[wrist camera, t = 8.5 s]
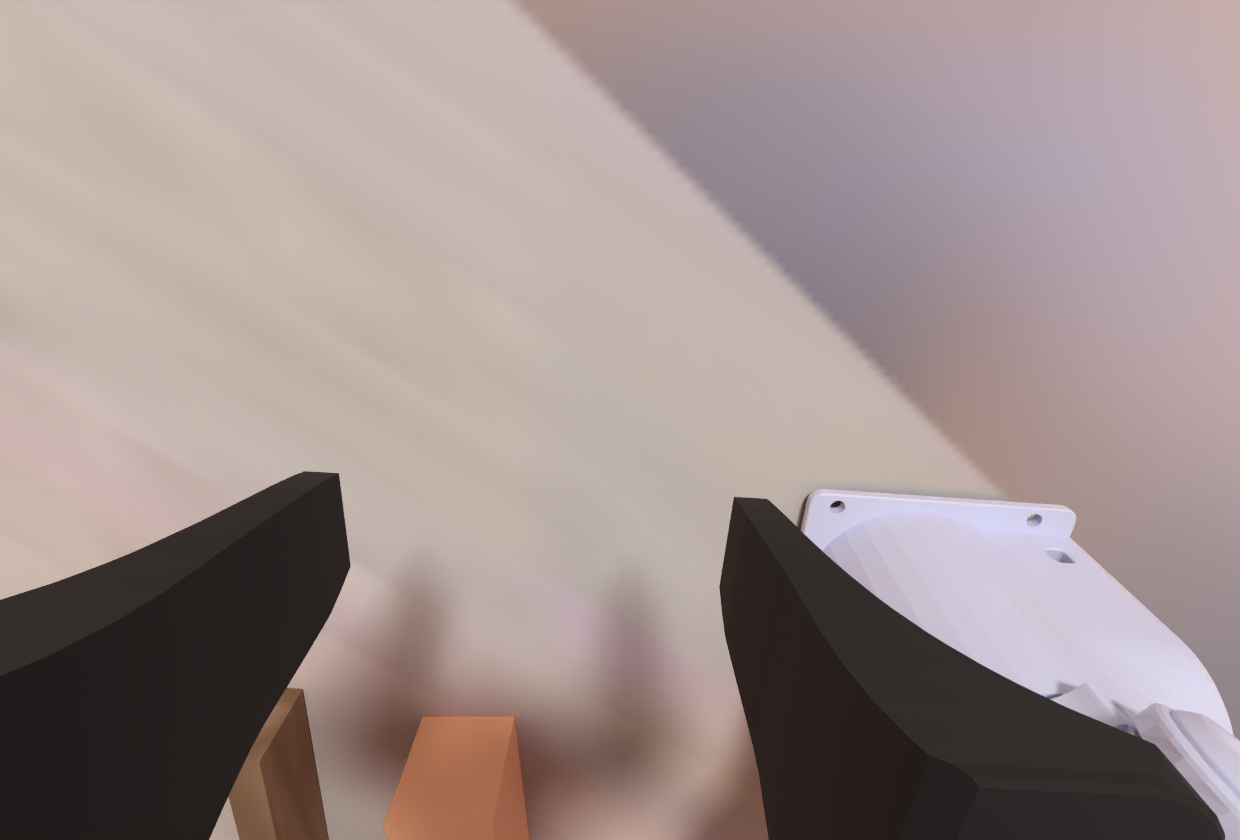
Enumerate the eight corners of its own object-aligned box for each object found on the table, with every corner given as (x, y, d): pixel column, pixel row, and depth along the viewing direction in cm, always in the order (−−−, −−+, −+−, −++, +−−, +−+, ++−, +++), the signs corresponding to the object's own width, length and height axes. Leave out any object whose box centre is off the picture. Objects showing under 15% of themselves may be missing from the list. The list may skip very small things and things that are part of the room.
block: (529, 834, 32) (512, 954, 27) (447, 834, 32) (416, 953, 27) (514, 713, 28) (492, 825, 24) (423, 714, 28) (383, 825, 24)
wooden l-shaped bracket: (595, 708, 28) (590, 783, 25) (582, 896, 33) (576, 978, 30) (267, 687, 28) (219, 759, 24) (305, 879, 33) (270, 959, 30)
